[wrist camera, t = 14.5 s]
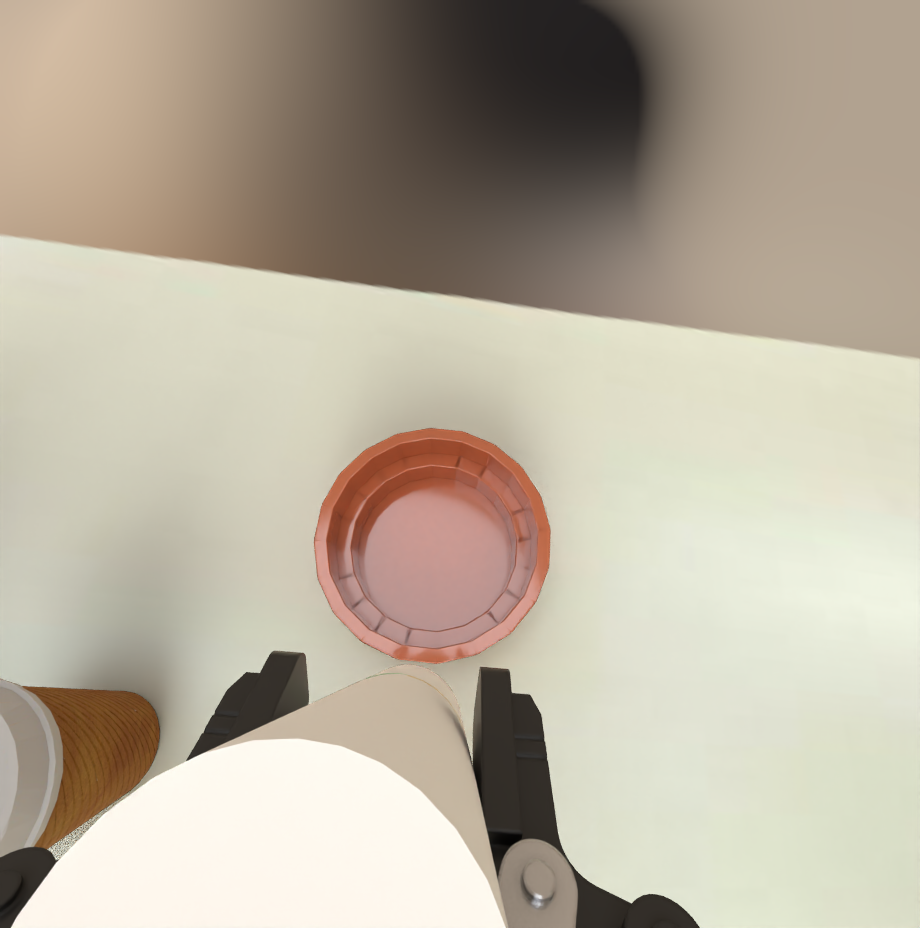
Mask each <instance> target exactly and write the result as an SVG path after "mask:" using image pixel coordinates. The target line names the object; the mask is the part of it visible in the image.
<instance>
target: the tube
mask: <svg viewBox="0 0 920 928" xmlns="http://www.w3.org/2000/svg"><path fill="white" fill-rule="evenodd" d="M11 928H508V925H507V920H506V916H505V911H504V907H503V902H502V898H501V893H500V888H499V884H498V879H497V875H496V870H495V866H494V861H493V857H492V852H491V847H490V843H489V838H488V834H487V829H486V825H485V820H484V816H483V811H482V806H481V802H480V797H479V793H478V788H477V784H476V779H475V775H474V770H473V765H472V761H471V756H470V752H469V748H468V744H467V740H466V735H465V731H464V726H463V722H462V717H461V713H460V708H459V705H458V702H457V700H456V697H455V695H454V693H453V692H452V690H451V689H450V687H449V685H448V684H447V683H446V682H445V681H444V680H443V679H442V678H441V677H440V676H439V675H437V674H436V673H434V672H433V671H431V670H429V669H426V668H424V667H421V666H416V665H398V666H394V667H390V668H388V669H386V670H383V671H381V672H379V673H377V674H375V675H373V676H370V677H368V678H366V679H364V680H361V681H359V682H357V683H355V684H352V685H350V686H348V687H346V688H344V689H341V690H339V691H337V692H335V693H333V694H331V695H328V696H326V697H324V698H322V699H320V700H318V701H315V702H313V703H311V704H309V705H307V706H305V707H302V708H300V709H298V710H296V711H294V712H292V713H289V714H287V715H285V716H283V717H281V718H278V719H276V720H274V721H272V722H270V723H268V724H265V725H263V726H261V727H259V728H257V729H255V730H252V731H250V732H248V733H246V734H244V735H242V736H239V737H237V738H235V739H233V740H231V741H229V742H226V743H224V744H222V745H220V746H218V747H216V748H213V749H211V750H209V751H207V752H205V753H203V754H201V755H198V756H196V757H194V758H192V759H190V760H188V761H186V762H184V763H182V764H180V765H178V766H176V767H174V768H172V769H170V770H168V771H166V772H164V773H162V774H160V775H157V776H155V777H153V778H152V779H151V780H149V781H148V782H146V783H145V784H144V785H142V786H141V787H140V788H138V789H137V790H136V791H134V792H133V793H132V794H130V795H129V796H127V797H126V798H125V799H123V800H122V801H121V802H119V803H118V804H117V805H115V806H114V807H113V808H111V809H110V810H108V811H107V812H106V813H104V814H103V815H102V816H101V817H100V818H99V819H98V820H97V821H96V822H95V823H94V824H93V825H92V827H91V828H90V829H89V830H88V831H87V832H86V833H85V834H84V835H83V836H82V837H81V838H80V839H79V840H78V841H77V842H76V843H75V844H74V845H73V846H72V847H71V848H70V849H69V850H68V851H67V852H66V853H65V854H64V855H63V856H62V857H61V858H60V859H59V860H58V861H57V863H56V864H55V865H54V867H53V868H52V870H51V871H50V872H49V874H48V875H47V876H46V878H45V879H44V880H43V882H42V883H41V885H40V886H39V887H38V889H37V890H36V891H35V893H34V894H33V896H32V897H31V898H30V900H29V901H28V902H27V904H26V905H25V906H24V908H23V909H22V911H21V912H20V913H19V915H18V916H17V918H16V919H15V921H14V923H13V925H12V927H11Z"/></svg>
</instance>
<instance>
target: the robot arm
mask: <svg viewBox="0 0 920 928" xmlns="http://www.w3.org/2000/svg"><path fill="white" fill-rule="evenodd" d="M308 702H309V691H308V679H307V666H306V656H305V654H304V653H297V652H284V651H273V652H272V653H271V654H270V655H269V657H268V659H267V661H266V663H265V665H264V666H263V668H262V670H261V672H260V673H251V672H246V673H245V674H244V675H243V676H242V677H241V678H240V679H238V680H237V681H236V682H235V683H234V684H233V685H232V686H231V687H230V688H229V689H228V690H227V691H226V693H225V695H224V696H223V698H222V700H221V702H220V703H219V705H218V707H217V709H216V710H215V714H214V715H212V717H211V719H210V721H209V722H208V724H207V726H206V728H205V731H204V733H202V734H201V736H200V738H199V740H198V741H197V743H196V745H195V747H194V748H193V750H192V752H191V754H190V755H189V757H188V759H187V760H186V761H188V760H190V759H192V758H194V757H196V756H198V755H201V754H203V753H205V752H207V751H209V750H211V749H213V748H216V747H218V746H220V745H222V744H224V743H226V742H229V741H231V740H233V739H235V738H237V737H239V736H242V735H244V734H246V733H248V732H250V731H252V730H255V729H257V728H259V727H261V726H263V725H265V724H268V723H270V722H272V721H274V720H276V719H278V718H281V717H283V716H285V715H287V714H289V713H292V712H294V711H296V710H298V709H300V708H302V707H305V706H307V705H308ZM473 770H474V775H475V779H476V784H477V788H478V793H479V797H480V802H481V806H482V811H483V816H484V820H485V825H486V829H487V834H488V838H489V843H490V847H491V852H492V857H493V861H494V866H495V870H496V875H497V879H498V884H499V888H500V893H501V898H502V902H503V907H504V911H505V916H506V920H507V925H508V928H700V927H699V926H698V924H697V923H696V922H695V921H694V919H693V918H692V917H691V916H690V915H689V914H688V913H687V912H686V911H685V910H684V909H683V908H682V907H681V906H680V905H678V904H677V903H675V902H674V901H672V900H671V899H668V898H666V897H664V896H660V895H656V894H648V895H643V896H641V897H639V898H637V899H636V900H635V901H634V902H633V903H632V904H631V903H629V902H627V901H625V900H623V899H621V898H619V897H617V896H615V895H613V894H611V893H609V892H607V891H605V890H603V889H601V888H599V887H597V886H595V885H593V884H592V883H590V882H589V881H587V880H586V879H585V878H583V877H582V876H581V875H580V874H579V873H578V872H577V871H576V870H575V868H574V867H573V866H572V864H571V863H570V862H569V860H568V858H567V857H566V855H565V853H564V851H563V849H562V846H561V843H560V840H559V836H558V830H557V823H556V816H555V809H554V802H553V795H552V788H551V781H550V774H549V766H548V761H547V752H546V745H545V742H544V731H543V724H542V717H541V713H540V712H539V710H538V708H537V706H536V705H535V703H534V701H533V699H532V697H531V696H530V695H528V694H516V693H512V692H511V680H510V671H509V669H500V668H488V667H480V669H479V676H478V684H477V692H476V700H475V708H474V721H473ZM57 861H58V860H55V858H54V856H53V854H52V853H51V852H50V851H48V850H47V849H45V848H42V847H27V848H22V849H19V850H16V851H13V852H10V853H8V854H6V855H4V856H2V857H0V928H11V927H12V925H13V923H14V921H15V919H16V918H17V916H18V915H19V913H20V912H21V911H22V909H23V908H24V906H25V905H26V904H27V902H28V901H29V900H30V898H31V897H32V896H33V894H34V893H35V891H36V890H37V889H38V887H39V886H40V885H41V883H42V882H43V880H44V879H45V878H46V876H47V875H48V874H49V872H50V871H51V870H52V868H53V867H54V865H55V864H56V863H57Z"/></svg>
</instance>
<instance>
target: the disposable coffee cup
mask: <svg viewBox="0 0 920 928" xmlns="http://www.w3.org/2000/svg"><path fill="white" fill-rule="evenodd" d="M159 732H160V729H159V723H158V718H157V716H156V713H155V711H154V709H153V708H152V706H151V705H150V703H149V702H148V701H147V700H145V699H144V698H143V697H142V696H140V695H138V694H136V693H132V692H127V691H108V690H88V689H68V688H47V687H27V686H20V685H18V684H15V683H12V682H9V681H6V680H3V679H0V857H2V856H4V855H6V854H8V853H10V852H13V851H16V850H19V849H22V848H27V847H42V848H45V849H48V848H50V847H51V846H52V845H54V844H55V843H57V842H58V841H59V840H61V839H62V838H64V837H65V836H67V835H68V834H69V833H71V832H72V831H74V830H75V829H77V828H78V827H79V826H81V825H82V824H84V823H85V822H86V821H88V820H89V819H91V818H92V817H93V816H95V815H96V814H98V813H99V812H100V811H102V810H103V809H105V808H106V807H107V806H109V805H110V804H112V803H113V802H114V801H116V800H117V799H119V798H120V797H122V796H123V795H125V794H126V793H128V792H129V791H131V790H132V789H133V788H134V787H135V786H136V785H137V784H138V783H139V782H140V781H141V779H142V778H143V777H144V775H145V774H146V773H147V771H148V770H149V768H150V766H151V765H152V763H153V760H154V757H155V755H156V752H157V749H158V743H159Z"/></svg>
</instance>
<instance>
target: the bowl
mask: <svg viewBox="0 0 920 928" xmlns="http://www.w3.org/2000/svg"><path fill="white" fill-rule="evenodd" d="M314 549H315V559H316V568H317V577H318V581H319V583H320V585H321V587H322V589H323V591H324V594H325V596H326V598H327V600H328V602H329V604H330V607H331V609H332V611H333V613H334V614H335V615H336V616H337V617H338V618H339V619H340V620H341V621H342V622H343V623H344V625H345V626H346V627H347V628H348V629H349V630H350V631H351V632H352V633H353V634H354V635H355V636H356V637H357V638H358V639H359V640H360V641H362V642H363V643H365V644H367V645H369V646H371V647H373V648H375V649H377V650H379V651H381V652H383V653H385V654H387V655H389V656H391V657H393V658H395V659H399V660H408V661H416V662H425V663H434V664H437V663H438V664H439V663H443V662H448V661H452V660H456V659H461V658H465V657H469V656H474V655H477V654H479V653H481V652H482V651H484V650H485V649H487V648H489V647H490V646H492V645H493V644H495V643H497V642H498V641H500V640H501V639H503V638H504V637H506V636H508V635H509V634H511V632H513V630H514V629H515V628H516V627H517V625H518V624H519V623H520V622H521V620H522V619H523V618H524V617H525V615H526V614H527V613H528V612H529V611H530V609H531V608H532V607H533V606H534V604H535V602H536V601H537V598H538V596H539V593H540V590H541V588H542V585H543V582H544V579H545V577H546V574H547V571H548V569H549V558H550V526H549V523H548V519H547V516H546V512H545V509H544V505H543V502H542V498H541V496H540V494H539V492H538V491H537V489H536V488H535V486H534V485H533V483H532V482H531V480H530V479H529V477H528V476H527V474H526V473H525V471H524V470H523V468H522V467H521V466H520V465H519V464H518V463H516V462H515V461H514V460H513V459H512V458H510V457H509V456H508V455H507V454H506V453H504V452H503V451H502V450H501V449H499V448H498V447H497V446H496V445H494V444H492V443H490V442H487V441H485V440H482V439H480V438H478V437H475V436H473V435H470V434H468V433H466V432H463V431H453V430H444V429H435V428H427V429H422V430H416V431H411V432H405V433H400V434H397V435H394V436H392V437H390V438H388V439H386V440H384V441H382V442H380V443H378V444H376V445H374V446H372V447H370V448H368V449H366V450H364V451H363V452H362V453H361V454H360V455H359V456H358V457H357V458H356V459H355V460H354V461H353V462H352V463H351V464H349V465H348V466H347V467H346V468H345V469H344V470H343V471H342V472H341V473H340V474H339V476H338V477H337V479H336V481H335V483H334V484H333V486H332V488H331V489H330V491H329V493H328V495H327V496H326V498H325V500H324V502H323V503H322V506H321V510H320V515H319V519H318V524H317V528H316V533H315V537H314Z"/></svg>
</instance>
